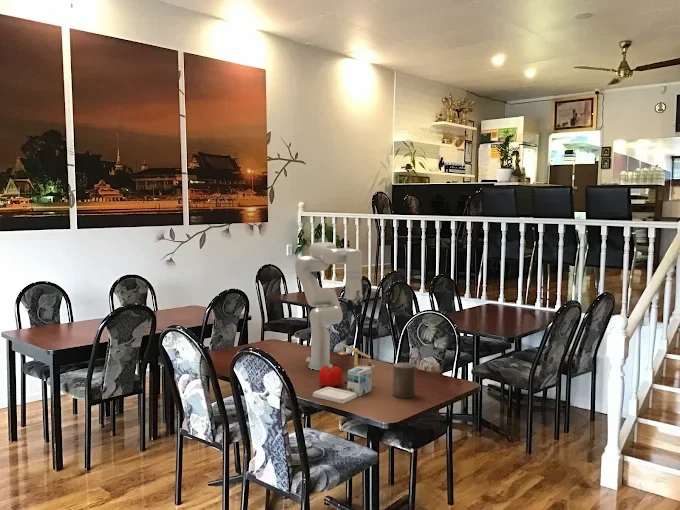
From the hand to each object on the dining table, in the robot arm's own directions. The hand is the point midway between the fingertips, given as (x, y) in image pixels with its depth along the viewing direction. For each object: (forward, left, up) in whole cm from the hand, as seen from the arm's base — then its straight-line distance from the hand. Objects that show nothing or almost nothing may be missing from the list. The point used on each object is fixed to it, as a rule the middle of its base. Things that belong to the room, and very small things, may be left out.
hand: (354, 311), depth 280 cm
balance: (+2, 0, -34) cm, 34 cm away
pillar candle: (+29, -2, -34) cm, 45 cm away
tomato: (-5, -11, -34) cm, 36 cm away
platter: (+6, -23, -34) cm, 41 cm away
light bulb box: (+11, -11, -34) cm, 37 cm away
